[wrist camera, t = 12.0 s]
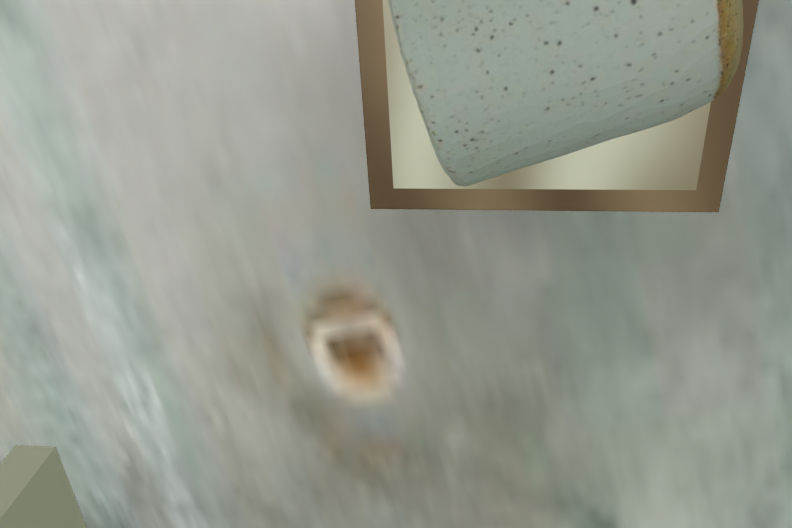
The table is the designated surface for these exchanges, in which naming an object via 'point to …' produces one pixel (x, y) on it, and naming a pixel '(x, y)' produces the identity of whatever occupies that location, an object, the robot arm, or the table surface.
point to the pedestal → (550, 180)
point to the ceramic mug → (558, 73)
